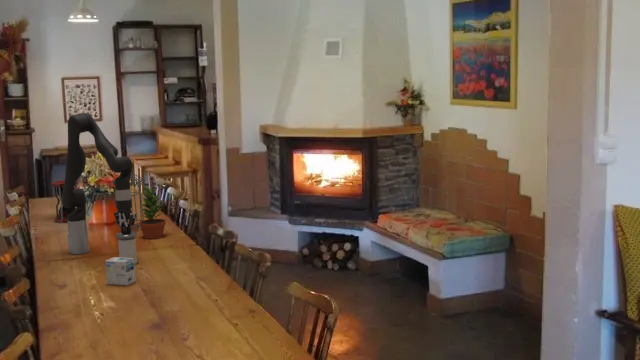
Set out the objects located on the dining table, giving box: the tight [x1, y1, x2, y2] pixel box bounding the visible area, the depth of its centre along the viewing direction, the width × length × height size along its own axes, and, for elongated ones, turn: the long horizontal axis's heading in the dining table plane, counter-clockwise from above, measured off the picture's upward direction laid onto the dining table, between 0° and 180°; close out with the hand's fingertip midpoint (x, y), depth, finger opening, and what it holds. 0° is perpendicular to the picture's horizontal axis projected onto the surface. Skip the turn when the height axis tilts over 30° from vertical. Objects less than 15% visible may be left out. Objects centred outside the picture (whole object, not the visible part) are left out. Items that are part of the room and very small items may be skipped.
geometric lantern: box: [111, 172, 146, 232], centre depth 418 cm, size 16×16×35 cm
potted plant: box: [138, 186, 167, 240], centre depth 398 cm, size 15×15×30 cm
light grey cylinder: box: [117, 237, 138, 265], centre depth 345 cm, size 8×8×12 cm
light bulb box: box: [104, 256, 137, 286], centre depth 312 cm, size 11×7×11 cm, turn 71°
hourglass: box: [51, 179, 79, 224], centre depth 454 cm, size 16×16×25 cm
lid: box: [115, 225, 138, 239], centre depth 344 cm, size 10×10×5 cm
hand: (126, 233), depth 344 cm, fingers closed on lid, 3 cm apart
